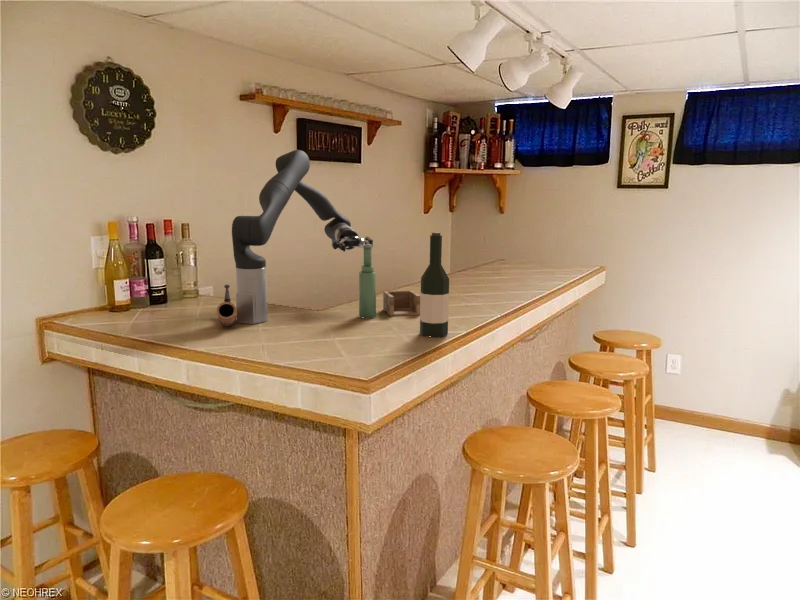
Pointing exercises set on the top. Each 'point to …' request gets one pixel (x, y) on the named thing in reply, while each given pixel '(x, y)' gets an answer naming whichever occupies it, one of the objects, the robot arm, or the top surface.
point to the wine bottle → (434, 293)
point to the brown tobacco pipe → (226, 310)
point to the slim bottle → (367, 285)
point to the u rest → (401, 303)
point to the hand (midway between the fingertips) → (356, 248)
